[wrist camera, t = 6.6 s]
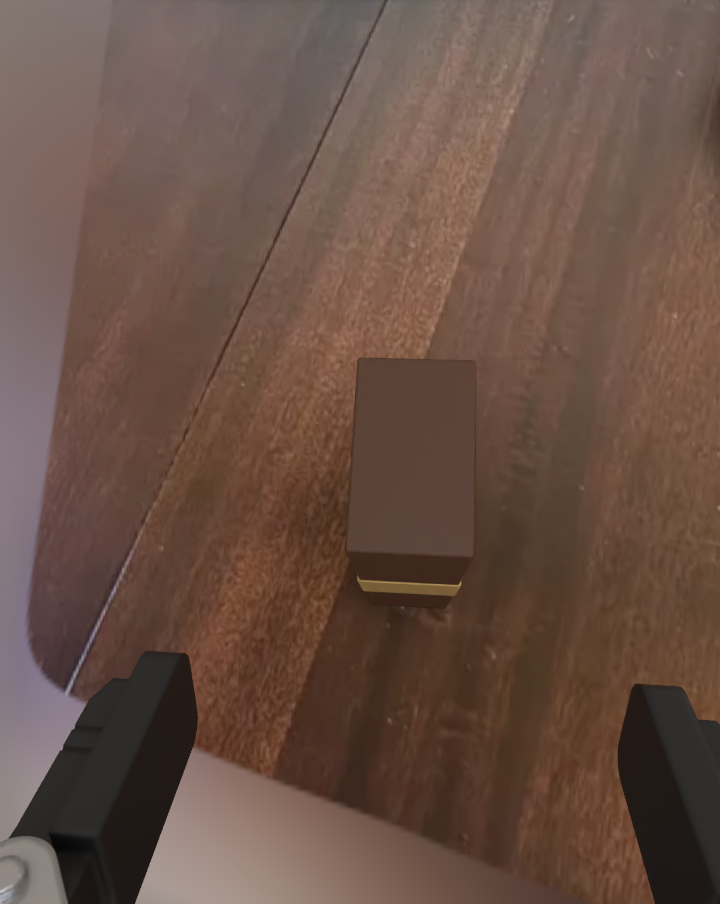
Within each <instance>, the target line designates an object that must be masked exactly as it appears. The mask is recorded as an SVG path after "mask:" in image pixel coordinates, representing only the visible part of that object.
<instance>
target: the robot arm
mask: <svg viewBox="0 0 720 904" xmlns="http://www.w3.org/2000/svg"><path fill="white" fill-rule="evenodd" d="M197 719H198V716H197V706H196V699H195V693H194V686H193V680H192V673H191V667H190V661H189V657H188V655H187V654H186V653H173V652H157V651H146V652H144V653H143V654H142V655H141V657H140V659H139V661H138V663H137V664H136V666H135V668H134V670H133V672H132V674H131V676H130V678H129V679H117V678H113V679H112V680H111V681H110V682H108V683H107V684H106V685H105V686H104V687H103V688H102V689H101V690H100V691H98V692H97V693H96V694H95V695H94V696H93V697H92V698H91V699H90V700H89V701H88V703H87V705H86V707H85V708H84V710H83V712H82V714H81V715H80V717H79V719H78V721H77V722H76V724H75V729H74V730H72V731H71V733H70V735H69V736H68V738H67V740H66V741H65V743H64V746H63V750H62V751H60V752H59V754H58V755H57V757H56V759H55V761H54V762H53V764H52V766H51V768H50V769H49V771H48V773H47V774H46V776H45V778H44V780H43V781H42V783H41V785H40V787H39V788H38V790H37V792H36V794H35V795H34V797H33V799H32V801H31V803H30V804H29V806H28V808H27V809H26V811H25V813H24V815H23V816H22V818H21V820H20V822H19V823H18V825H17V827H16V828H15V830H14V831H13V833H12V834H11V836H10V837H9V839H7V840H4V841H2V842H0V904H135V902H136V899H137V896H138V893H139V891H140V888H141V885H142V883H143V880H144V877H145V875H146V872H147V869H148V867H149V864H150V861H151V859H152V856H153V853H154V851H155V848H156V845H157V842H158V840H159V837H160V834H161V832H162V829H163V826H164V824H165V821H166V818H167V815H168V813H169V810H170V807H171V805H172V802H173V799H174V797H175V794H176V791H177V788H178V786H179V783H180V780H181V778H182V775H183V772H184V770H185V767H186V764H187V761H188V759H189V756H190V753H191V751H192V748H193V745H194V741H195V737H196V731H197ZM618 769H619V776H620V781H621V785H622V788H623V792H624V795H625V799H626V802H627V806H628V809H629V813H630V816H631V820H632V823H633V827H634V830H635V834H636V837H637V841H638V845H639V848H640V852H641V855H642V859H643V862H644V866H645V869H646V873H647V876H648V880H649V883H650V887H651V890H652V894H653V897H654V901H655V904H720V725H719V724H718V723H717V722H716V721H710V720H697V717H696V715H695V713H694V711H693V708H692V706H691V704H690V701H689V699H688V697H687V695H686V693H685V691H684V690H683V689H682V688H681V687H677V686H662V685H646V684H635V685H634V686H633V688H632V690H631V694H630V698H629V702H628V706H627V710H626V715H625V719H624V723H623V727H622V731H621V736H620V740H619V745H618Z"/></svg>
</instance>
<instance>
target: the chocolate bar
mask: <svg viewBox="0 0 720 904" xmlns="http://www.w3.org/2000/svg"><path fill="white" fill-rule="evenodd" d="M475 470H476V362H475V361H472V360H433V359H393V358H359V359H358V362H357V377H356V391H355V406H354V421H353V436H352V451H351V466H350V481H349V496H348V510H347V525H346V540H345V550H346V553H347V555H348V557H349V559H350V561H351V563H352V565H353V567H354V569H355V571H356V573H357V580H358V582H359V584H360V586H361V588H362V590H363V591H365V592H366V594H367V596H368V598H369V600H370V602H371V604H373V605H390V606H408V607H426V608H446V607H447V605H448V604H449V602H450V600H451V598H452V596H454V595H456V593H457V592H458V590H459V588H460V586H461V580H462V578H463V576H464V574H465V573H466V571H467V569H468V567H469V565H470V563H471V562H472V560H473V558H474V556H475Z"/></svg>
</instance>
